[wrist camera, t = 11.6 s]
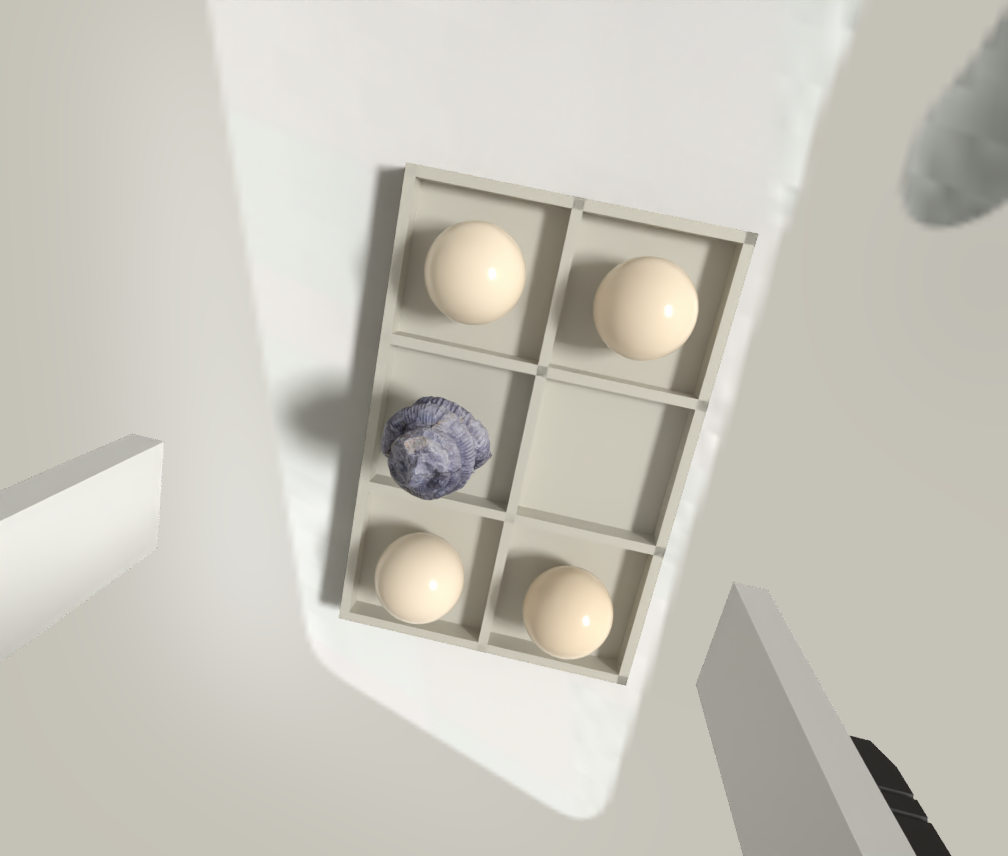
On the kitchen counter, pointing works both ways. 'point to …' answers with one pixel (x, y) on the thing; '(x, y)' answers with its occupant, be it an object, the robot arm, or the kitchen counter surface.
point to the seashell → (434, 447)
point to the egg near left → (475, 272)
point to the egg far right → (567, 612)
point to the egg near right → (645, 308)
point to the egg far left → (419, 578)
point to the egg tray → (542, 413)
